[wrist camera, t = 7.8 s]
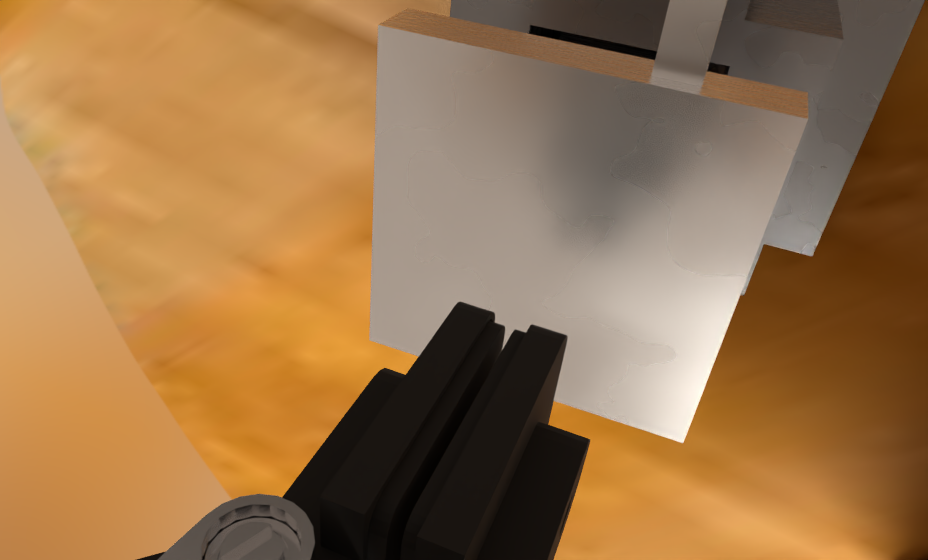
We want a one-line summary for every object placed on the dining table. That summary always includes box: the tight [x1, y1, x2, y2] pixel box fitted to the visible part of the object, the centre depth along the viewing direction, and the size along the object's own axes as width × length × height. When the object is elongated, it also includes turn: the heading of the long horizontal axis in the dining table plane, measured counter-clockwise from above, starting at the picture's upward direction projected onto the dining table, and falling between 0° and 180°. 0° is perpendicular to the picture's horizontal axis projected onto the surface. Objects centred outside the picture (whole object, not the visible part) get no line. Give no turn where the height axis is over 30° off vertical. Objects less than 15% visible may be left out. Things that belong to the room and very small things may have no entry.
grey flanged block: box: [370, 0, 808, 443], centre depth 17 cm, size 7×9×9 cm
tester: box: [450, 0, 925, 296], centre depth 22 cm, size 14×12×9 cm
